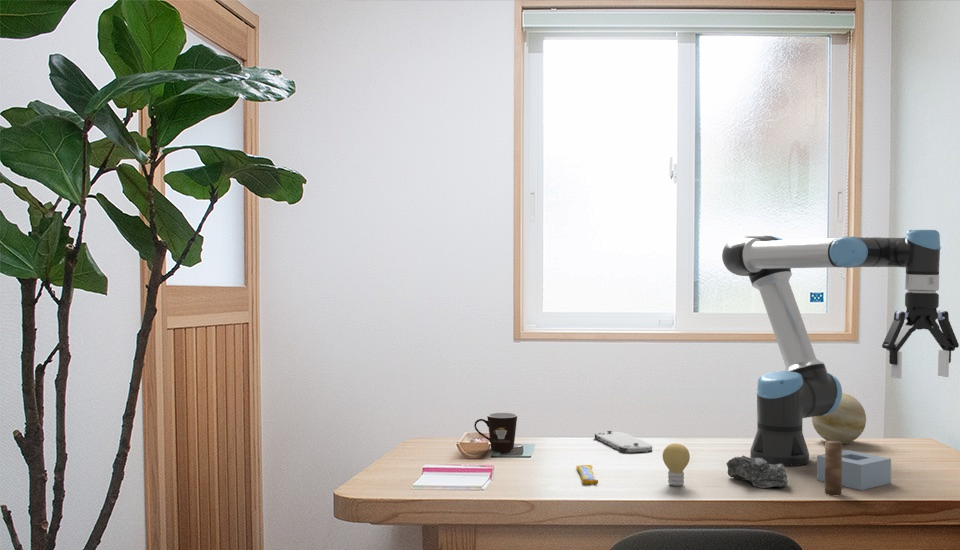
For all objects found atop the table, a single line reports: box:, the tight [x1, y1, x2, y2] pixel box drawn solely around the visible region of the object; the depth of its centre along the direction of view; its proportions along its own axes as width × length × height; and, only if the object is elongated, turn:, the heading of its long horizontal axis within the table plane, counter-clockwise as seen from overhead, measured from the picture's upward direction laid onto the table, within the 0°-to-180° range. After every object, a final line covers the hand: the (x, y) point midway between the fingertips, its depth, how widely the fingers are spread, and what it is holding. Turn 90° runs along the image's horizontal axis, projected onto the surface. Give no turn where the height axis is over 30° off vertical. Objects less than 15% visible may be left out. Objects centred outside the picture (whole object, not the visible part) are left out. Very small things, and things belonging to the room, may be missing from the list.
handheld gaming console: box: [594, 430, 653, 454], centre depth 261 cm, size 23×3×10 cm
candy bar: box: [575, 464, 599, 486], centre depth 223 cm, size 17×4×2 cm, turn 179°
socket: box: [816, 449, 892, 491], centre depth 218 cm, size 12×12×6 cm
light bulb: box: [662, 442, 691, 487], centre depth 214 cm, size 6×6×10 cm
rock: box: [726, 455, 789, 489], centre depth 216 cm, size 13×13×10 cm
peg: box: [824, 440, 843, 496], centre depth 206 cm, size 4×4×12 cm
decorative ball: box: [811, 392, 867, 445], centre depth 262 cm, size 15×15×15 cm
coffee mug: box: [473, 412, 518, 454], centre depth 254 cm, size 12×9×10 cm
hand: (919, 377), depth 221 cm, fingers open, 13 cm apart
